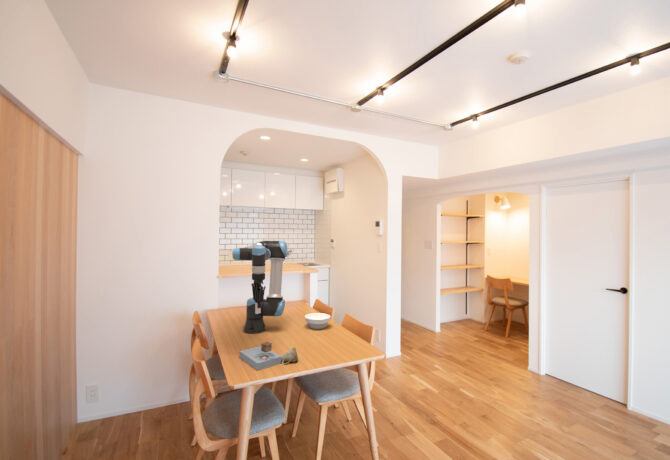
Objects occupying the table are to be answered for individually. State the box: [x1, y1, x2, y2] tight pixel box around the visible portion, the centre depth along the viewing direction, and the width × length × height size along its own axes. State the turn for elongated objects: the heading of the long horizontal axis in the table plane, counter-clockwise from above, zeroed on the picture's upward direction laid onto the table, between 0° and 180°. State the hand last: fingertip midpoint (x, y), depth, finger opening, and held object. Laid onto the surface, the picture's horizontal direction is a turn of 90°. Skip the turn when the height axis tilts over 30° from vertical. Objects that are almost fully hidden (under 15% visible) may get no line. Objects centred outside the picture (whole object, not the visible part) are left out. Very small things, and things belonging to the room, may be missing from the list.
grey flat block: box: [238, 345, 282, 371], centre depth 169 cm, size 21×14×4 cm, turn 42°
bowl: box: [304, 312, 332, 330], centre depth 230 cm, size 19×20×8 cm
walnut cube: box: [260, 341, 273, 352], centre depth 174 cm, size 4×4×4 cm
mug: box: [280, 347, 299, 366], centre depth 168 cm, size 8×10×10 cm
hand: (257, 313), depth 179 cm, fingers closed
